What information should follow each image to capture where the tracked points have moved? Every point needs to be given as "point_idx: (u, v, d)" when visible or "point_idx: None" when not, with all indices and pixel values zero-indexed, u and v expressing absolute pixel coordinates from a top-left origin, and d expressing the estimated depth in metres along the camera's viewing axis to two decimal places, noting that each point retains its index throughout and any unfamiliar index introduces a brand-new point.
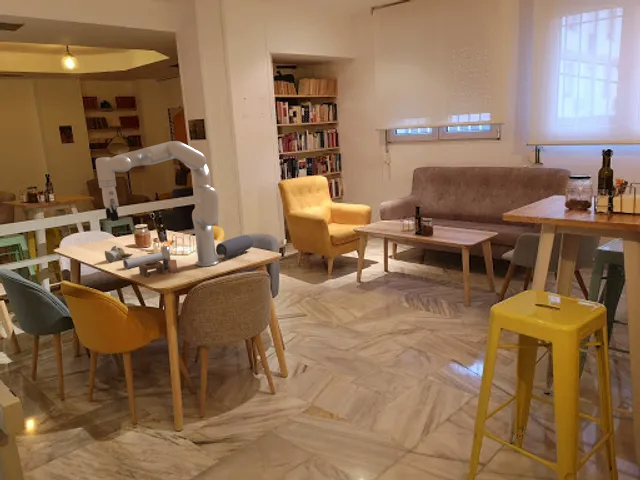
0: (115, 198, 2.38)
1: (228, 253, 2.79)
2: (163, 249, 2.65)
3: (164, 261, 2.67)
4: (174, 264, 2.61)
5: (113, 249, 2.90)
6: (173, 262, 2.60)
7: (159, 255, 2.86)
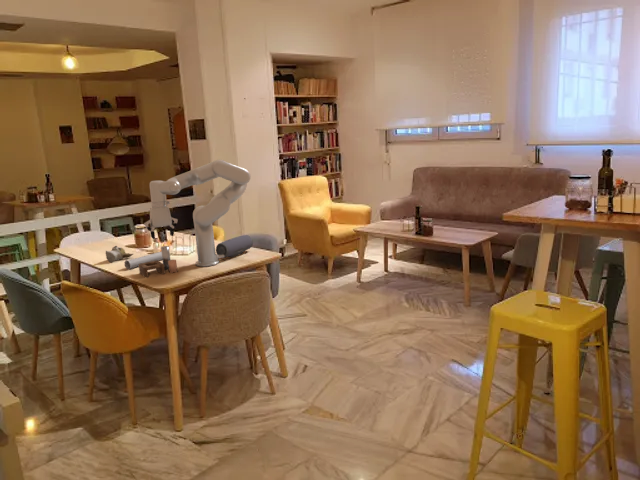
0: None
1: (228, 253, 2.79)
2: (163, 249, 2.65)
3: (164, 261, 2.67)
4: (174, 264, 2.61)
5: (114, 249, 2.90)
6: (173, 262, 2.60)
7: (159, 255, 2.86)
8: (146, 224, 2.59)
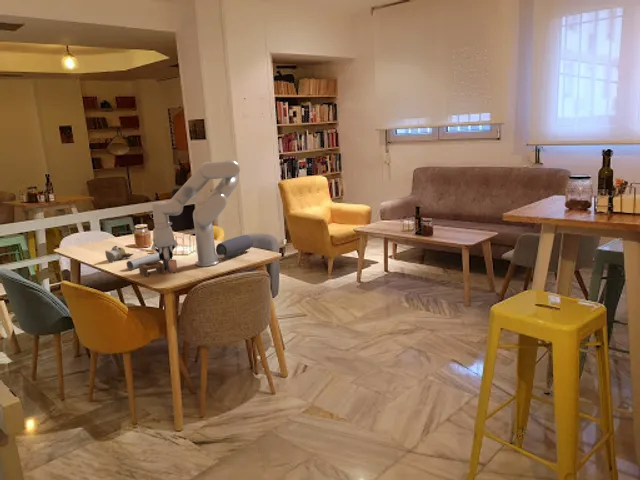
0: None
1: (228, 253, 2.79)
2: (163, 249, 2.65)
3: (164, 261, 2.67)
4: (174, 264, 2.61)
5: (114, 249, 2.90)
6: (173, 262, 2.60)
7: None
8: (153, 248, 2.63)
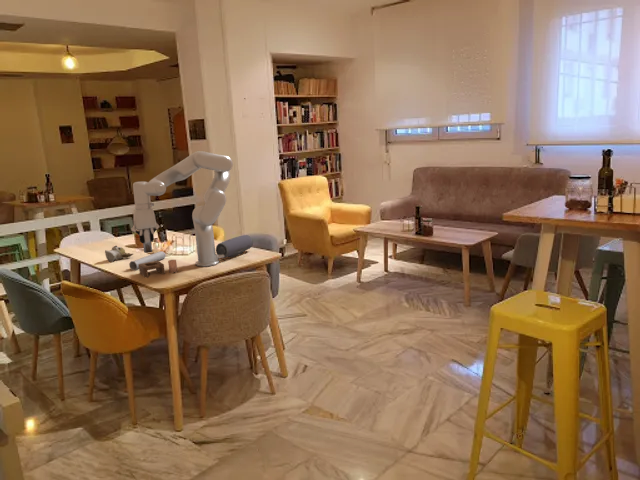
0: None
1: (228, 253, 2.79)
2: (144, 231, 2.55)
3: (144, 244, 2.56)
4: (174, 264, 2.61)
5: (113, 249, 2.91)
6: (173, 262, 2.60)
7: (159, 255, 2.86)
8: (133, 229, 2.53)
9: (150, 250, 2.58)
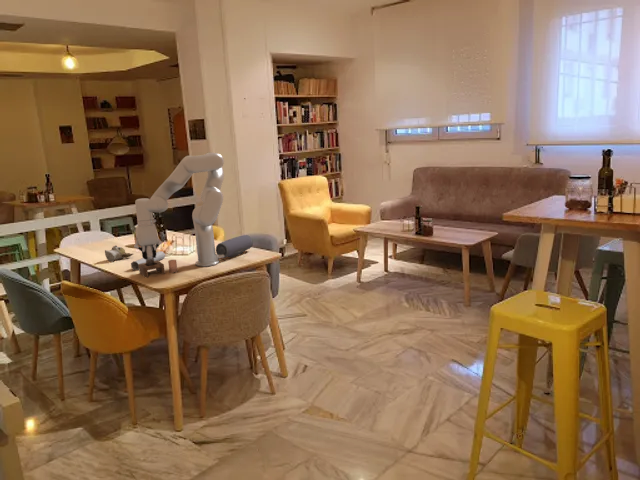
0: None
1: (228, 253, 2.79)
2: (146, 247, 2.57)
3: (147, 260, 2.59)
4: (174, 264, 2.61)
5: (113, 249, 2.91)
6: (173, 262, 2.60)
7: (159, 255, 2.87)
8: (136, 246, 2.55)
9: None
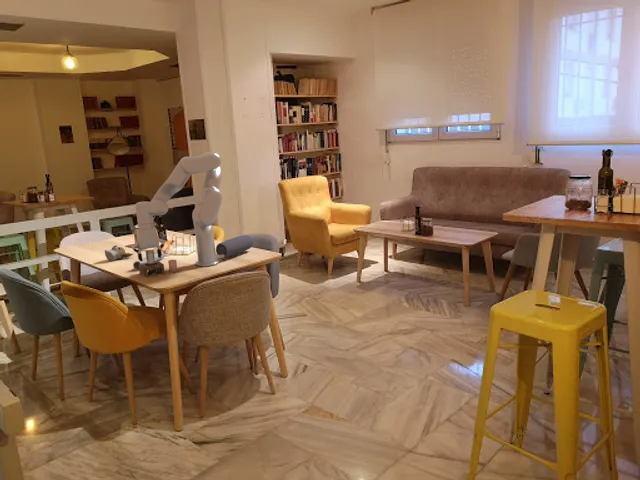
0: None
1: (228, 253, 2.79)
2: (147, 253, 2.58)
3: (149, 265, 2.59)
4: (174, 264, 2.61)
5: (113, 248, 2.92)
6: (173, 262, 2.60)
7: None
8: (133, 246, 2.54)
9: (154, 272, 2.61)
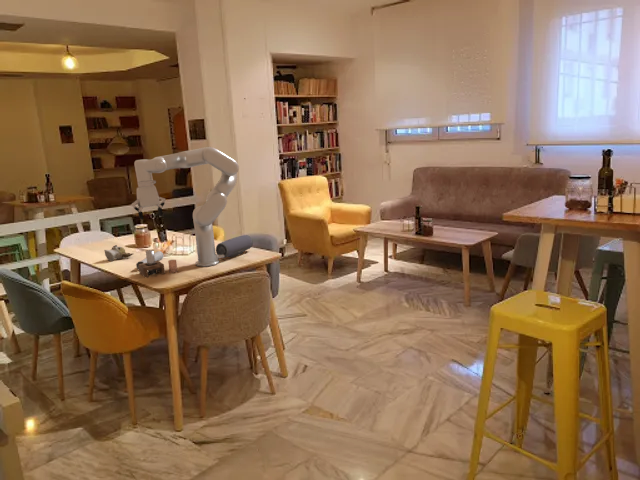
0: None
1: (228, 253, 2.79)
2: (148, 253, 2.58)
3: (149, 265, 2.59)
4: (174, 264, 2.61)
5: (113, 248, 2.92)
6: (173, 262, 2.60)
7: (159, 254, 2.87)
8: (133, 204, 2.54)
9: (154, 272, 2.61)
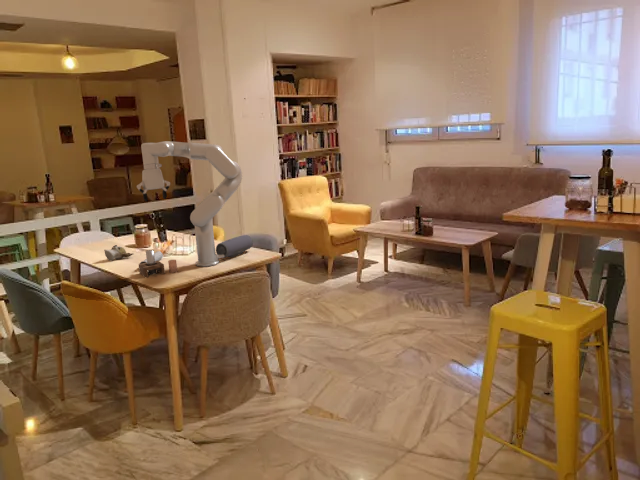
0: None
1: (228, 253, 2.79)
2: (148, 253, 2.58)
3: (149, 265, 2.59)
4: (174, 264, 2.61)
5: (113, 248, 2.92)
6: (173, 262, 2.60)
7: (159, 254, 2.87)
8: (138, 186, 2.60)
9: (154, 272, 2.61)
